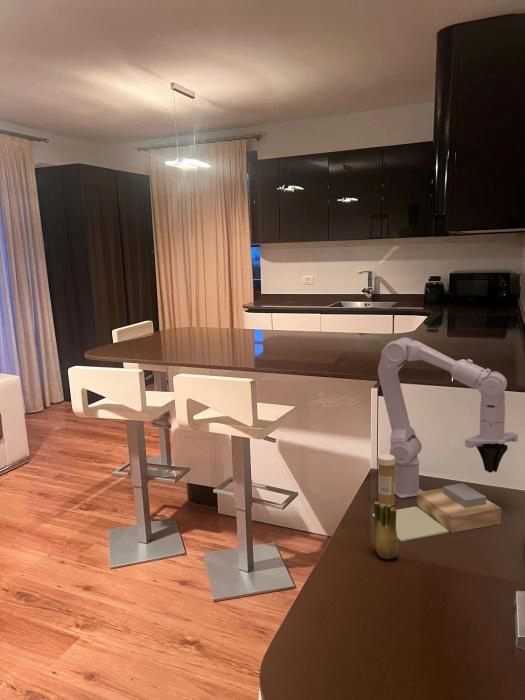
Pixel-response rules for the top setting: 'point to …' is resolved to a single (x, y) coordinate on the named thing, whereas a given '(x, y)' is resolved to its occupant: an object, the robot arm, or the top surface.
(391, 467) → the sprinkles bottle
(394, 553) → the fennel bulb
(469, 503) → the grey rectangular block
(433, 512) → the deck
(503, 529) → the top surface
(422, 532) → the mat
